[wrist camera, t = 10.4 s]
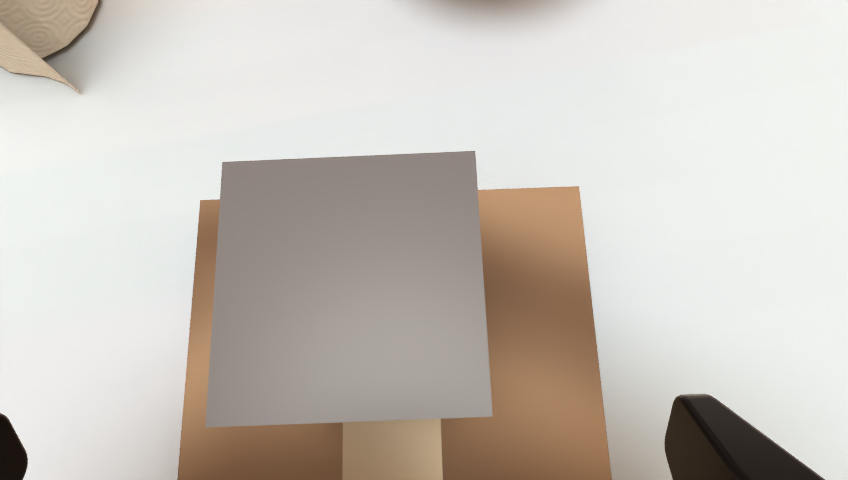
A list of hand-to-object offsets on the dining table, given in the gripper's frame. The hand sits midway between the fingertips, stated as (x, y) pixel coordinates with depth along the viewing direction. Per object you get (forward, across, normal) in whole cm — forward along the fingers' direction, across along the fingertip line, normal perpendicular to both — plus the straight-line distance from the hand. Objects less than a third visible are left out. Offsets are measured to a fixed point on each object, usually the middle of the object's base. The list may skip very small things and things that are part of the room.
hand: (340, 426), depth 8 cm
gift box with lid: (+9, 0, +6) cm, 11 cm away
